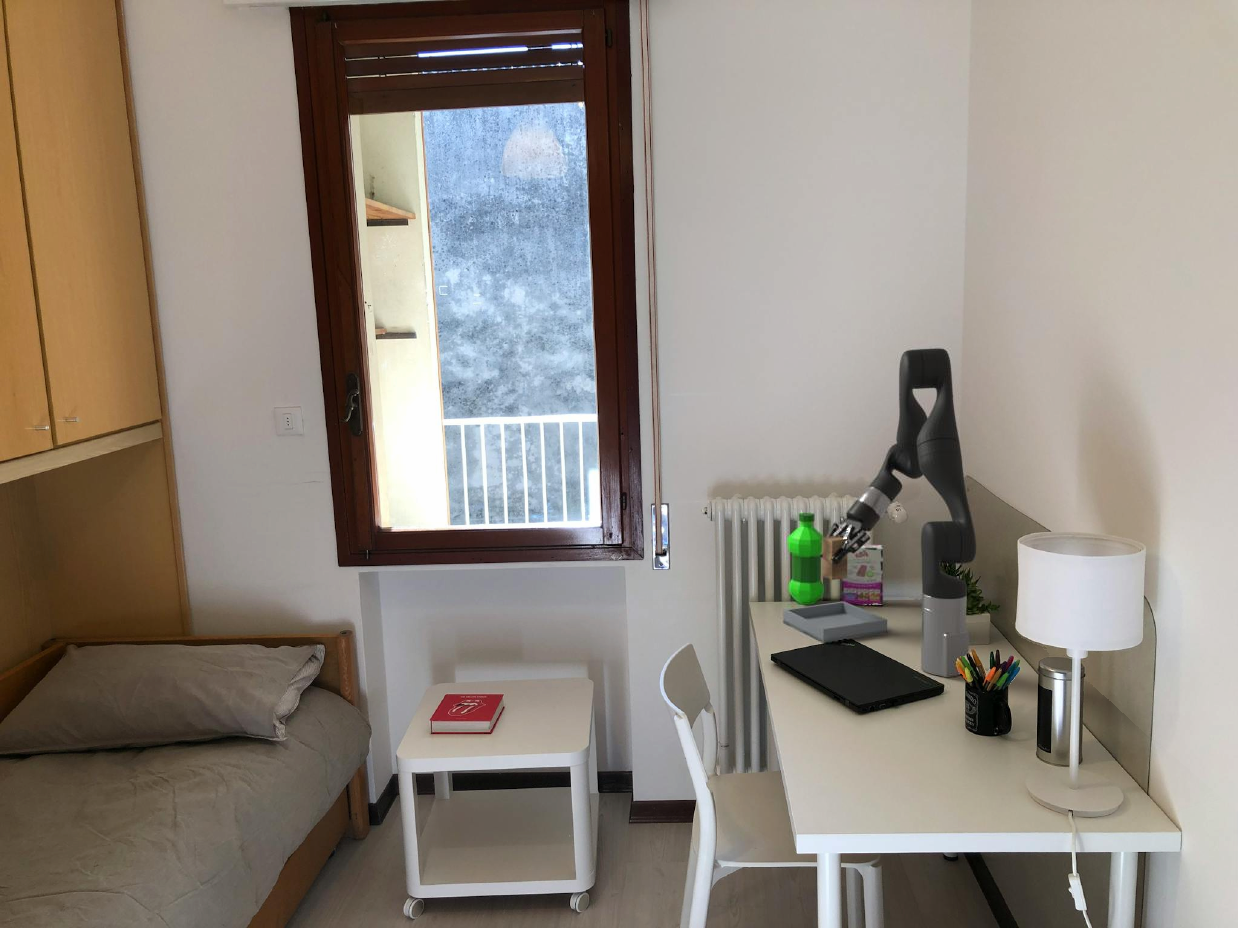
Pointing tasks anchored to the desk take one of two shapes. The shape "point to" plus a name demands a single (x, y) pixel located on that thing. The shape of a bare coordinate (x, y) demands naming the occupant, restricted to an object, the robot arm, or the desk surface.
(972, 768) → the desk surface
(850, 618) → the box
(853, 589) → the candy bar box
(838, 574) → the walnut block
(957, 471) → the robot arm
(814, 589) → the plastic bottle
